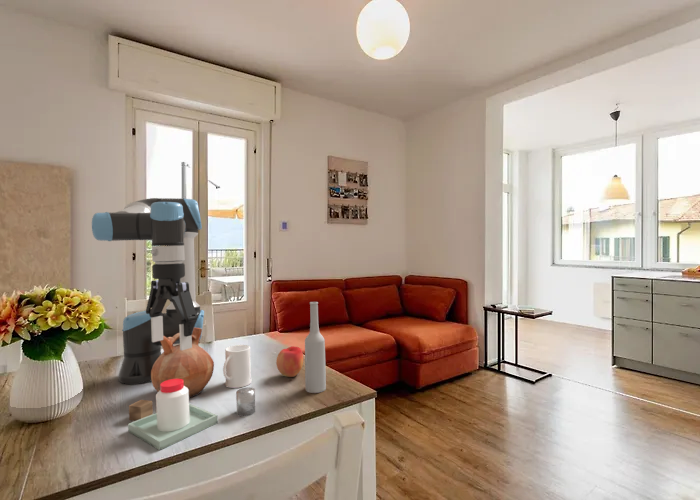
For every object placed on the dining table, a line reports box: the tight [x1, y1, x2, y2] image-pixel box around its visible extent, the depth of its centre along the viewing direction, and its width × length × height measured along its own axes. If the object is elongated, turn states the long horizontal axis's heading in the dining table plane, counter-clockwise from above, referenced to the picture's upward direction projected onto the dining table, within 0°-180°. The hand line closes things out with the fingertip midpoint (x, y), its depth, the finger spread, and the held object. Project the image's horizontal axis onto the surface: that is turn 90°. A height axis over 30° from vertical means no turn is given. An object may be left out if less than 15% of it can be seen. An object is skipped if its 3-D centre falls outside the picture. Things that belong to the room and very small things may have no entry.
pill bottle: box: [155, 379, 190, 432], centre depth 96 cm, size 8×8×11 cm
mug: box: [222, 344, 253, 389], centre depth 124 cm, size 12×8×12 cm
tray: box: [127, 403, 219, 451], centre depth 96 cm, size 15×15×2 cm
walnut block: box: [128, 399, 154, 422], centre depth 102 cm, size 4×4×4 cm
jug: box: [151, 327, 215, 398], centre depth 118 cm, size 18×18×20 cm
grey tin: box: [235, 386, 256, 417], centre depth 104 cm, size 5×5×6 cm
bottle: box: [304, 301, 327, 394], centre depth 119 cm, size 7×7×28 cm
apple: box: [275, 346, 305, 378], centre depth 131 cm, size 10×10×10 cm
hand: (171, 344), depth 96 cm, fingers open, 13 cm apart
